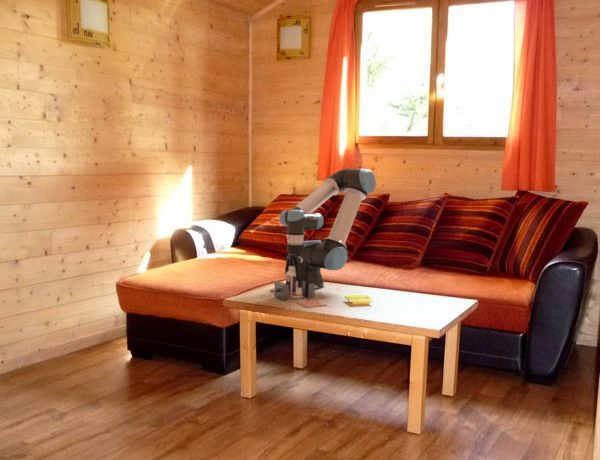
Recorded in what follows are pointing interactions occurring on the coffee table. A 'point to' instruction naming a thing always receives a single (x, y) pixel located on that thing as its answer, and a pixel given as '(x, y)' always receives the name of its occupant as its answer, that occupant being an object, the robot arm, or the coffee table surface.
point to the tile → (311, 303)
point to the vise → (283, 290)
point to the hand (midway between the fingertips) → (294, 292)
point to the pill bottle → (292, 283)
